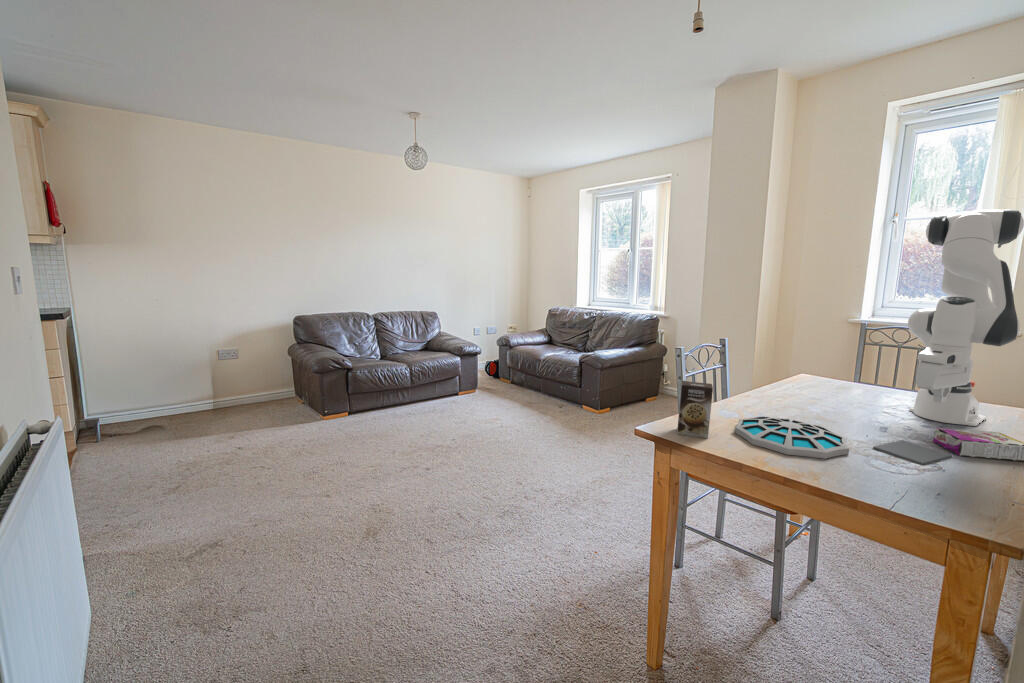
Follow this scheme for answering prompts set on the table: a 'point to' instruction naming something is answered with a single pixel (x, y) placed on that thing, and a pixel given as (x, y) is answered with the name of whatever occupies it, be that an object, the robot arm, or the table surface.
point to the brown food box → (695, 409)
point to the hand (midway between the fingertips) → (939, 401)
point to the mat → (912, 452)
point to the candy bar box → (980, 444)
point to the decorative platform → (792, 437)
